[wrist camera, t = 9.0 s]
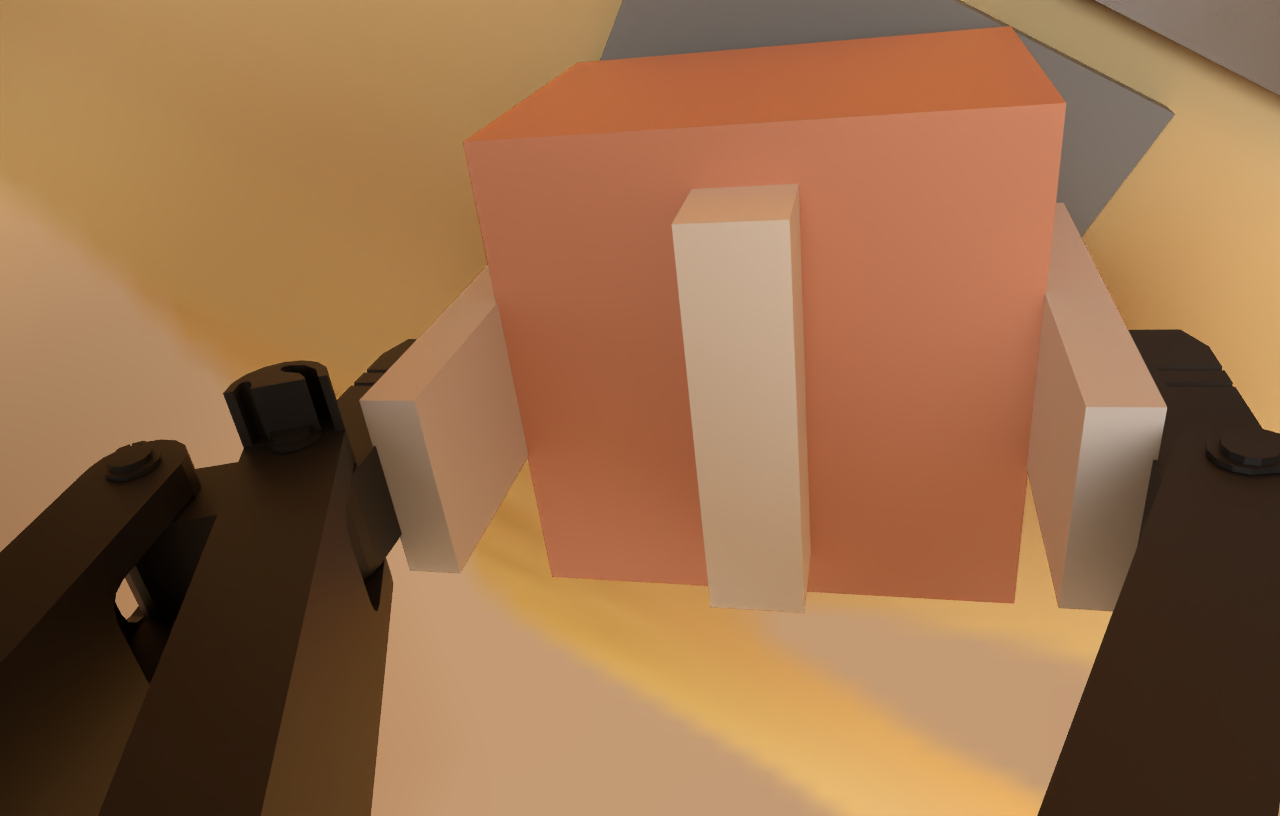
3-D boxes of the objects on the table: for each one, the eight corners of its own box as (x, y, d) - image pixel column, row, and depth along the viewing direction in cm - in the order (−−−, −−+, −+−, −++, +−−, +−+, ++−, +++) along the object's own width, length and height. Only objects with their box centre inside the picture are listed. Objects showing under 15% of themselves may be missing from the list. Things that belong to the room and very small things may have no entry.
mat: (512, 301, 22) (503, 312, 22) (683, -142, 17) (677, -141, 17) (882, 484, 23) (882, 498, 22) (1166, 106, 17) (1174, 113, 17)
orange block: (577, 62, 18) (420, 171, 12) (1010, 25, 16) (1088, 133, 10) (627, 412, 21) (526, 632, 15) (981, 417, 19) (1025, 669, 13)
